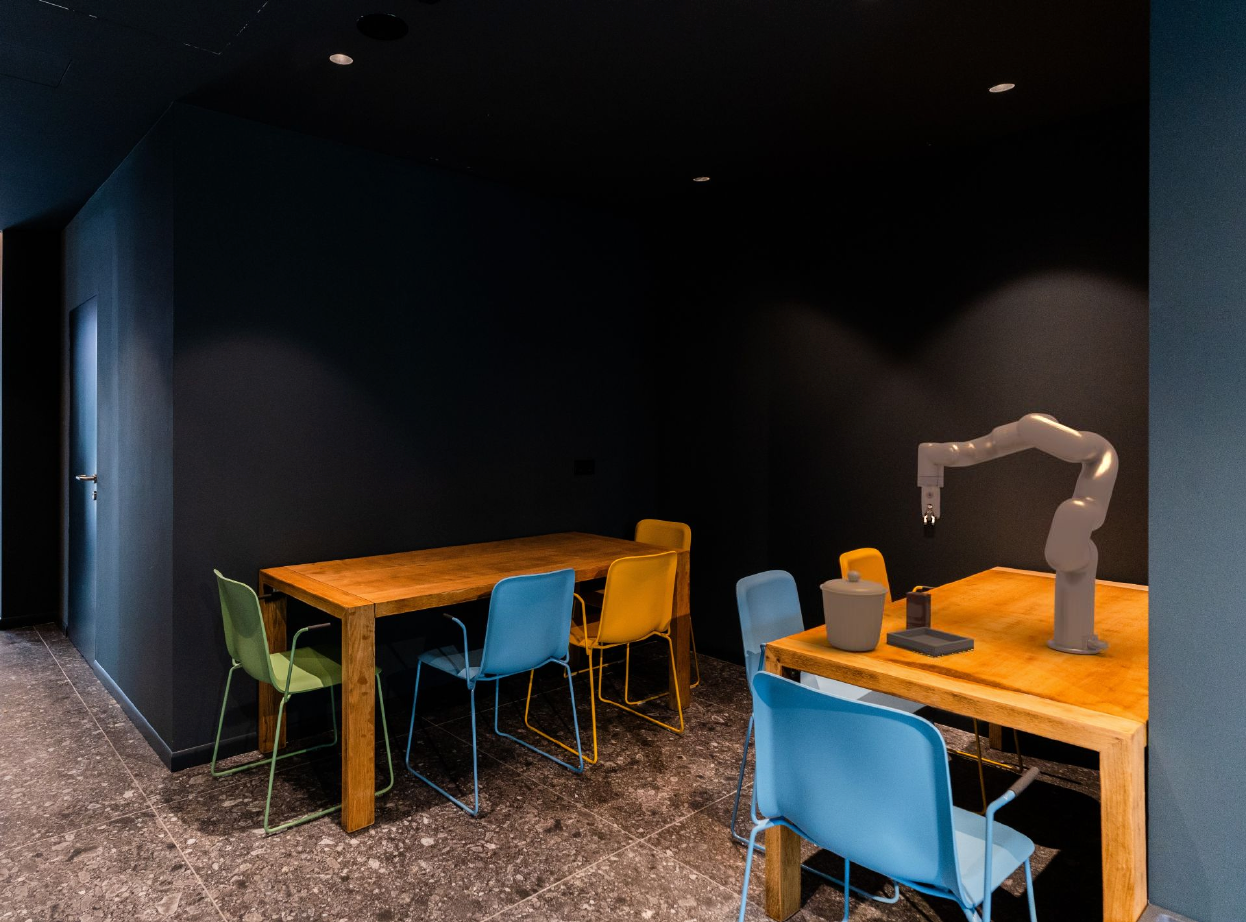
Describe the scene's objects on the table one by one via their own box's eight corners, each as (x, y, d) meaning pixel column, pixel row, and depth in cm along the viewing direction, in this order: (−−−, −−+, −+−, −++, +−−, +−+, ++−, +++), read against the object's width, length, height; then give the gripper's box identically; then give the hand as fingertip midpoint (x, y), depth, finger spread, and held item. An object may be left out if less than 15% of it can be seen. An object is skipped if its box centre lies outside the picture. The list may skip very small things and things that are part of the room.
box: (931, 633, 224) (931, 593, 224) (925, 636, 221) (925, 595, 221) (911, 630, 228) (911, 590, 228) (904, 632, 225) (905, 592, 225)
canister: (858, 636, 220) (859, 564, 220) (902, 652, 204) (903, 574, 203) (806, 641, 214) (807, 567, 213) (846, 658, 197) (847, 578, 197)
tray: (973, 650, 206) (974, 639, 206) (934, 657, 198) (934, 646, 198) (924, 636, 220) (925, 626, 220) (886, 643, 212) (886, 633, 212)
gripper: (943, 483, 228) (942, 539, 229) (943, 481, 244) (942, 533, 245) (916, 482, 231) (915, 538, 232) (918, 480, 247) (917, 532, 248)
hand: (929, 536), depth 238 cm, fingers open, 9 cm apart
